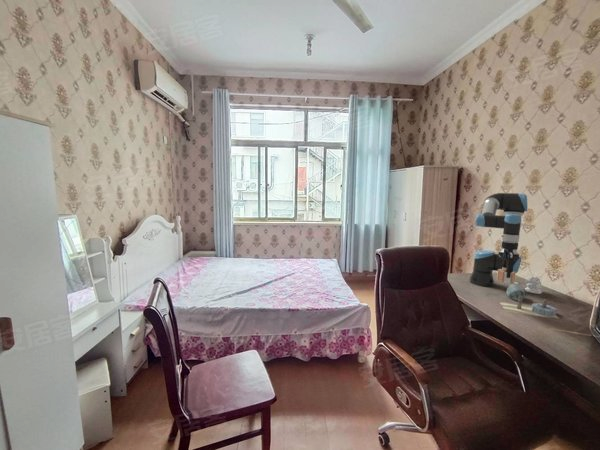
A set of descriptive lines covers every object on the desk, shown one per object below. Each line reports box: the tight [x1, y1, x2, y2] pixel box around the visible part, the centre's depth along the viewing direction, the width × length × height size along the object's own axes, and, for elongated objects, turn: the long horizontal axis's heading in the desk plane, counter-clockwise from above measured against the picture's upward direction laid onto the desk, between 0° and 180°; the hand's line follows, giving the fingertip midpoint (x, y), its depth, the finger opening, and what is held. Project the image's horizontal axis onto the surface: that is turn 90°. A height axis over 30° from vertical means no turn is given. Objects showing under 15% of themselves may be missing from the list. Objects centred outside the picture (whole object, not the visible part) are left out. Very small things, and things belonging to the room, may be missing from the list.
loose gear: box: [496, 269, 517, 285], centre depth 168 cm, size 8×8×6 cm
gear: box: [531, 302, 557, 316], centre depth 162 cm, size 10×10×3 cm
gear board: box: [499, 296, 560, 320], centre depth 164 cm, size 14×24×8 cm, turn 67°
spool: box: [506, 284, 526, 302], centre depth 182 cm, size 14×10×10 cm
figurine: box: [524, 274, 543, 295], centre depth 195 cm, size 12×9×10 cm
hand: (505, 280), depth 168 cm, fingers closed on loose gear, 8 cm apart
